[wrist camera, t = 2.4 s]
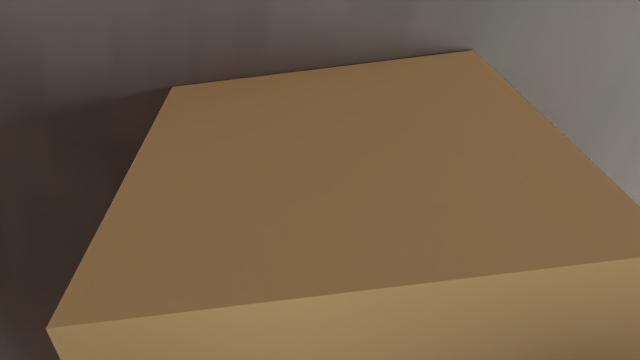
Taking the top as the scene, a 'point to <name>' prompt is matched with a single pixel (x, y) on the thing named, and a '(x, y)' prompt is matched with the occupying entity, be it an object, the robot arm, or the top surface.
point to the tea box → (358, 227)
